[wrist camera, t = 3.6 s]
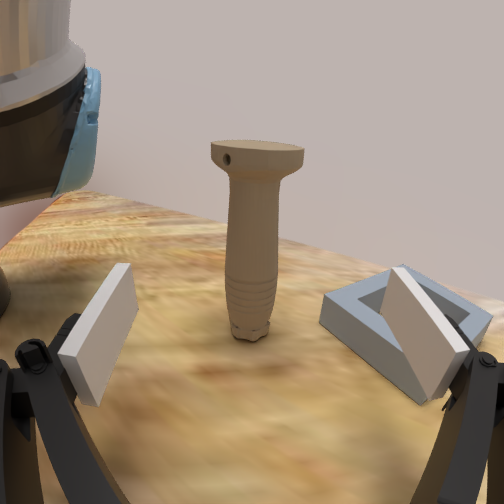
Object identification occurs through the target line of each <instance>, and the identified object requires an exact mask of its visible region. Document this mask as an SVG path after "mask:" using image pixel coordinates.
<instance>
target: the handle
mask: <svg viewBox="0 0 504 504" xmlns="http://www.w3.org/2000/svg"><path fill="white" fill-rule="evenodd" d="M211 158H212V160H213V162H214V163H215V164H216V165H217V166H218V167H220V168H221V169H223V170H224V171H225V172H227V174H228V176H229V180H230V197H229V214H228V229H227V244H226V259H225V291H226V302H227V309H228V313H229V318H230V324H231V327H232V333H233V335H234V336H235V337H236V338H238V339H240V338H242V339H247V340H250V341H257V340H258V338H259V337H261V336H265V335H266V334H267V333H268V330H269V326H270V322H269V321H268V320H269V319H270V316H271V313H272V310H273V306H274V301H275V294H276V287H277V276H278V212H279V188H280V181H281V180H282V178H284V177H285V176H287V175H289V174H292V173H294V172H296V171H297V170H298V169H300V168H301V167H302V165H303V158H304V148H302V147H298V146H295V145H290V144H284V143H276V142H267V141H255V140H226V141H225V140H224V141H215V142H211Z"/></svg>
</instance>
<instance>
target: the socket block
mask: <svg viewBox="0 0 504 504" xmlns="http://www.w3.org/2000/svg"><path fill="white" fill-rule="evenodd" d="M397 267H404V268H405V269H406V271H407V272H408V273H409V274H410V275H411V276H412V277H413V279H414V280H415V281H416V282H417V283H418V284H419V286H420V287H421V288H422V289H423V290H424V292H425V293H426V294H427V295H428V296H429V298H430V299H431V300H432V301H433V302H434V304H435V305H436V306H437V307H438V309H439V310H440V311H441V312H442V314H447V315H448V316H449V317H451V318H452V319H453V320H454V321H455V322H456V323H457V324H458V326H459V327H460V328H461V329H462V331H463V332H464V334H466V336H467V337H468V338H469V340H470V341H471V342H472V344H473V345H474V346H475V348H476V347H477V346H478V344H479V343H480V342H481V341H482V339H483V337H484V335H485V333H486V331H487V328H488V326H489V324H490V322H491V320H492V318H493V315H491V314H489V313H488V312H486V311H485V310H483V309H481V308H480V307H478V306H476V305H475V304H473V303H471V302H470V301H468V300H466V299H464V298H463V297H461V296H459V295H458V294H456V293H454V292H452V291H451V290H449V289H447V288H446V287H444V286H442V285H440V284H439V283H437V282H435V281H433V280H431V279H430V278H428V277H426V276H424V275H422V274H421V273H419V272H417V271H415V270H413V269H411V268H410V267H408V266H406V265H404V264H402V265H400V266H397ZM390 272H391V269H390V270H387V271H385V272H382V273H380V274H377V275H374V276H372V277H369V278H367V279H364V280H361V281H359V282H356V283H353V284H351V285H348V286H345V287H343V288H340V289H337V290H335V291H332V292H329V293H326V294H324V298H323V304H322V309H321V314H320V320H319V323H320V324H322V325H323V326H324V327H325V328H326V329H328V330H329V331H330V332H331V333H332V334H334V335H335V336H336V337H337V338H338V339H340V340H341V341H342V342H343V343H344V344H346V345H347V346H348V347H349V348H351V349H352V350H353V351H354V352H355V353H357V354H358V355H359V356H360V357H361V358H363V359H364V360H365V361H366V362H367V363H369V364H370V365H371V366H372V367H374V368H375V369H376V370H377V371H378V372H380V373H381V374H382V375H383V376H385V377H386V378H387V379H388V380H389V381H391V382H392V383H393V384H394V385H396V386H397V387H398V388H399V389H400V390H402V391H403V392H404V393H405V394H407V395H408V396H409V397H410V398H412V399H413V400H414V401H415V402H416V403H418V404H419V405H422V404H423V403H424V402H425V401H426V400H427V399H428V398H427V396H426V394H425V392H424V390H423V388H422V386H421V384H420V382H419V380H418V378H417V377H416V375H415V373H414V371H413V369H412V367H411V365H410V364H409V362H408V360H407V358H406V356H405V354H404V353H403V351H402V349H401V347H400V345H399V344H398V342H397V340H396V338H395V336H394V335H393V333H392V331H391V329H390V328H389V326H388V324H387V323H386V321H385V319H384V317H382V316H381V315H379V314H378V313H379V312H380V309H381V305H382V302H383V298H384V295H385V291H386V287H387V283H388V280H389V276H390Z"/></svg>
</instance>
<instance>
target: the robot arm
mask: <svg viewBox="0 0 504 504" xmlns="http://www.w3.org/2000/svg"><path fill="white" fill-rule="evenodd" d="M70 2H71V0H0V207H4V206H9V205H14V204H18V203H23V202H28V201H33V200H38V199H44V198H53V197H56V196H57V195H58V194H62V193H66V192H70V191H74V190H78V189H81V188H82V187H84V186H85V185H86V184H87V183H88V182H89V180H90V179H91V176H92V173H93V169H94V162H95V154H96V143H97V131H98V121H97V118H98V113H99V106H100V93H101V74H100V71H99V70H97V69H92V68H91V67H90V68H89V67H86V68H85V53H84V51H83V49H82V48H80V47H79V46H78V45H76V44H75V43H74V42H72V41H71V40H70V39H69V38H68V33H69V14H70ZM9 299H10V289H9V286H8V283H7V280H6V277H5V274H4V272H3V270H2V269H1V267H0V316H1V315H2V313H3V312H4V310H5V309H6V307H7V305H8V302H9ZM138 310H139V309H138V303H137V298H136V292H135V287H134V281H133V274H132V268H131V263H116V265H115V266H114V268H113V269H112V270H111V272H110V273H109V275H108V276H107V277H106V279H105V280H104V282H103V283H102V285H101V286H100V288H99V289H98V291H97V292H96V293H95V295H94V296H93V298H92V299H91V301H90V302H89V304H88V305H87V307H86V309H85V310H84V312H83V313H82V314H77V313H74V314H73V315H72V316H70V317H69V318H68V319H67V320H66V321H65V322H64V324H63V325H62V327H61V329H60V330H59V331H58V333H57V335H56V336H55V337H54V339H53V341H52V342H51V344H50V345H49V347H48V348H47V347H46V345H45V343H44V342H43V341H42V340H40V339H30V340H27V341H25V342H23V343H21V344H20V345H19V346H18V347H17V349H16V351H15V357H16V359H17V361H18V363H19V365H20V367H21V368H15V369H10V368H9V366H8V364H7V363H6V361H4V360H2V359H0V504H44V501H43V495H42V489H41V483H40V475H39V467H38V458H37V446H36V430H35V418H36V421H37V425H38V428H39V431H40V434H41V437H42V440H43V442H44V445H45V448H46V451H47V453H48V456H49V459H50V461H51V464H52V466H53V469H54V471H55V473H56V476H57V478H58V480H59V483H60V485H61V487H62V489H63V491H64V493H65V496H66V498H67V500H68V502H69V504H130V503H129V501H128V500H127V498H126V497H125V495H124V494H123V492H122V491H121V489H120V488H119V486H118V484H117V483H116V481H115V480H114V478H113V476H112V475H111V473H110V471H109V470H108V468H107V466H106V464H105V463H104V461H103V459H102V457H101V456H100V454H99V452H98V450H97V448H96V446H95V444H94V442H93V441H92V439H91V437H90V435H89V433H88V431H87V429H86V427H85V424H84V422H83V420H82V418H81V416H80V414H79V412H78V409H77V407H76V405H75V403H74V401H75V398H76V396H77V395H78V397H79V399H80V401H81V403H82V404H85V405H90V406H95V407H99V405H100V402H101V400H102V397H103V394H104V392H105V389H106V387H107V384H108V381H109V379H110V376H111V374H112V371H113V369H114V366H115V364H116V361H117V359H118V356H119V354H120V352H121V349H122V347H123V344H124V342H125V340H126V337H127V335H128V333H129V330H130V328H131V326H132V323H133V321H134V319H135V317H136V314H137V312H138ZM380 312H381V314H382V316H383V317H384V319H385V321H386V323H387V324H388V326H389V328H390V329H391V331H392V333H393V335H394V336H395V338H396V340H397V342H398V344H399V345H400V347H401V349H402V351H403V353H404V354H405V356H406V358H407V360H408V362H409V364H410V365H411V367H412V369H413V371H414V373H415V375H416V377H417V378H418V380H419V382H420V384H421V386H422V388H423V390H424V392H425V394H426V396H427V398H428V400H429V401H430V400H434V399H438V398H442V397H443V396H444V394H445V393H446V391H447V390H448V388H449V389H450V391H451V392H452V394H451V396H450V397H449V399H448V400H447V402H446V404H445V405H444V406H443V408H442V411H444V409H445V408H446V410H445V414H444V417H443V420H442V423H441V427H440V430H439V433H438V436H437V439H436V442H435V444H434V447H433V450H432V453H431V455H430V458H429V461H428V463H427V466H426V468H425V471H424V473H423V475H422V478H421V480H420V482H419V485H418V487H417V489H416V491H415V493H414V496H413V498H412V500H411V502H410V504H476V501H477V497H478V494H479V490H480V487H481V483H482V479H483V475H484V471H485V467H486V462H487V458H488V480H487V503H486V504H504V363H498V362H497V360H496V358H495V357H493V356H492V355H491V354H489V353H487V352H478V350H477V349H476V348H475V346H474V345H473V344H472V342H471V341H470V340H469V338H468V337H467V336H466V334H464V332H463V331H462V329H461V328H460V327H459V326H458V324H457V323H456V322H455V321H454V320H453V319H452V318H451V317H449V316H448V315H447V314H442V312H441V311H440V310H439V309H438V307H437V306H436V305H435V304H434V302H433V301H432V300H431V299H430V298H429V296H428V295H427V294H426V293H425V292H424V290H423V289H422V288H421V287H420V286H419V284H418V283H417V282H416V281H415V280H414V279H413V277H412V276H411V275H410V274H409V273H408V272H407V271H406V269H405V268H404V267H392V268H391V272H390V276H389V280H388V283H387V287H386V291H385V295H384V298H383V302H382V305H381V309H380Z"/></svg>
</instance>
